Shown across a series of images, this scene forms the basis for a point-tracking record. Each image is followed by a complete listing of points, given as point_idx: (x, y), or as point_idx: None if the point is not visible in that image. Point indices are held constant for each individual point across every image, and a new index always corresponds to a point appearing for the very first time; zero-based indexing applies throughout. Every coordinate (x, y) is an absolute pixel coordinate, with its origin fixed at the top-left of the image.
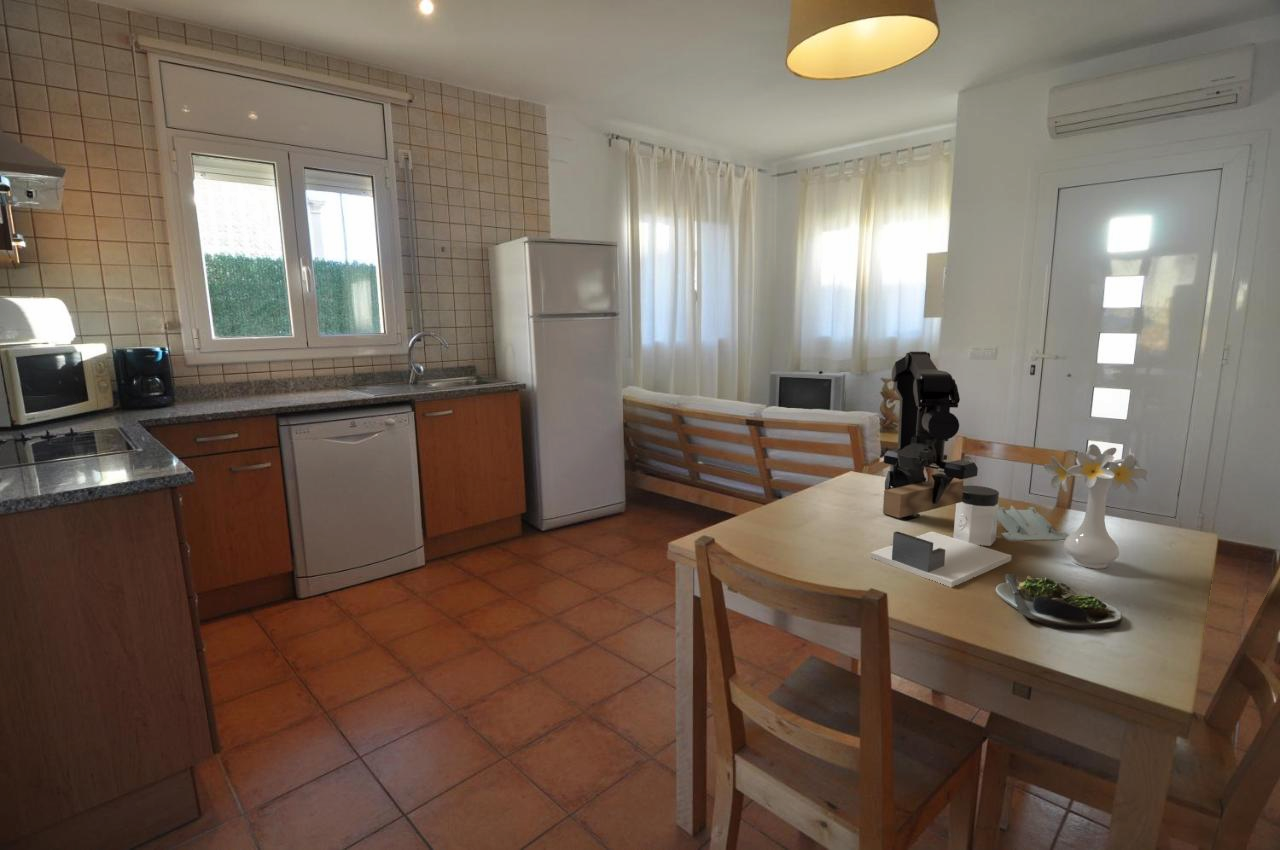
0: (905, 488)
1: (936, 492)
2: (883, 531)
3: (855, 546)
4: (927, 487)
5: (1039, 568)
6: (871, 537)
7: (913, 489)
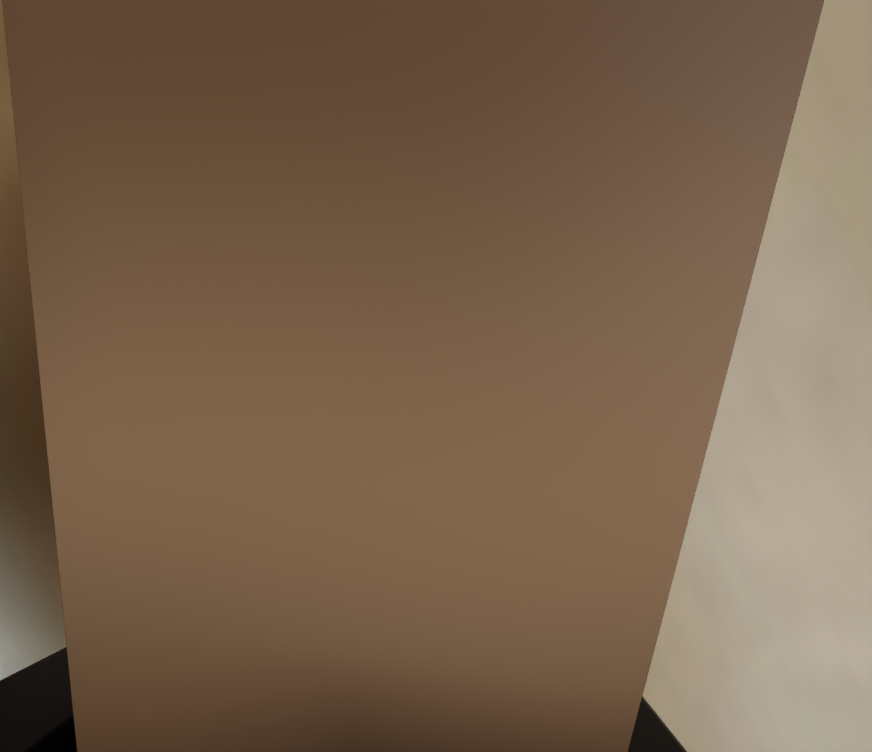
0: (504, 4)
1: (44, 668)
2: (810, 524)
3: (837, 77)
4: (150, 713)
5: (4, 579)
6: (825, 354)
7: (223, 147)
